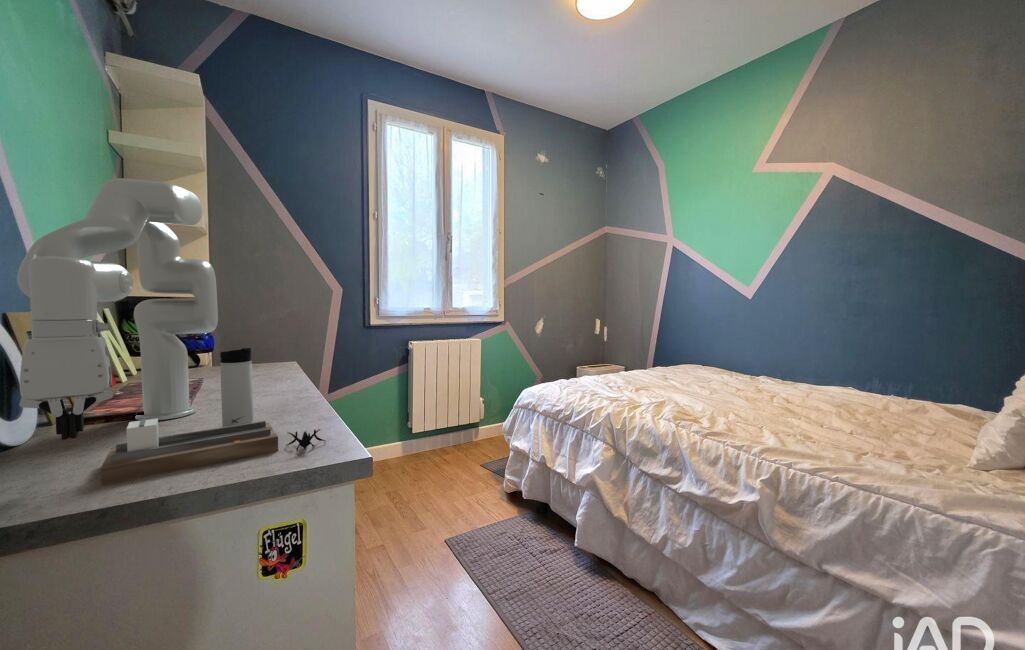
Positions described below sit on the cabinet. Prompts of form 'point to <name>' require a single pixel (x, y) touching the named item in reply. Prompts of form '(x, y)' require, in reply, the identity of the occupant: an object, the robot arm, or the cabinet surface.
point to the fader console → (189, 451)
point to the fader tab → (142, 434)
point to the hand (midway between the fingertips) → (70, 436)
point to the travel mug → (236, 387)
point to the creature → (304, 439)
